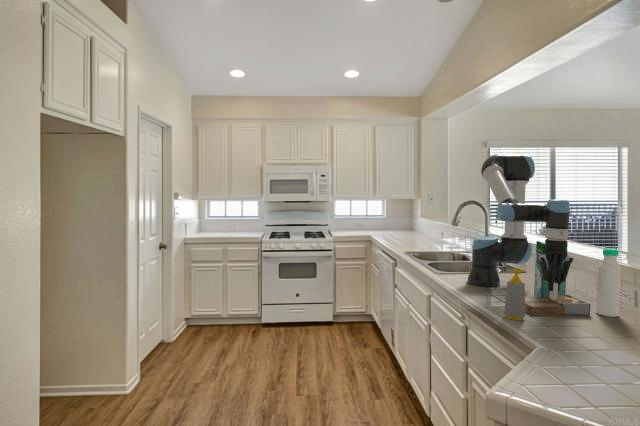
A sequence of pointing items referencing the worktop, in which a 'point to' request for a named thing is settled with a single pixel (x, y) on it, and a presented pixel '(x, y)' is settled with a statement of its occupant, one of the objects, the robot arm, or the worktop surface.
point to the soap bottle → (515, 298)
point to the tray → (573, 306)
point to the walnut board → (543, 307)
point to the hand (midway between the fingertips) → (553, 299)
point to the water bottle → (609, 284)
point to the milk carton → (541, 284)
